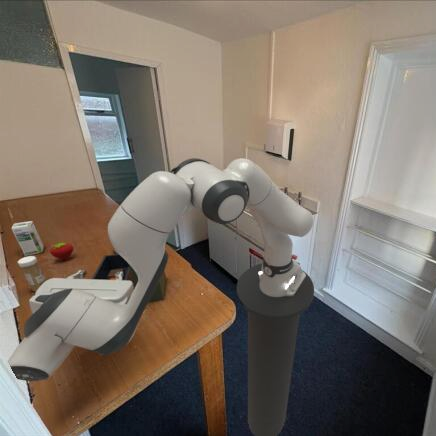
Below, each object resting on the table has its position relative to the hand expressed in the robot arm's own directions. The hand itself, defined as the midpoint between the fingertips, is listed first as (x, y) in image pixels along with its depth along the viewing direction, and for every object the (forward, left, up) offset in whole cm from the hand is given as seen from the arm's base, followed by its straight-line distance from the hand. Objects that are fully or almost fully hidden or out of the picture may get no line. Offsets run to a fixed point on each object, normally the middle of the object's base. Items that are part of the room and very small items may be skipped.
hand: (102, 272), depth 70 cm
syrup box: (+8, -70, -21) cm, 74 cm away
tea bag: (-17, -42, -21) cm, 50 cm away
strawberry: (+1, -53, -21) cm, 57 cm away
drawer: (-5, -16, -21) cm, 27 cm away
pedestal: (-14, -6, -21) cm, 26 cm away
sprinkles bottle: (+12, -38, -21) cm, 45 cm away
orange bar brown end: (-3, -14, -20) cm, 25 cm away
